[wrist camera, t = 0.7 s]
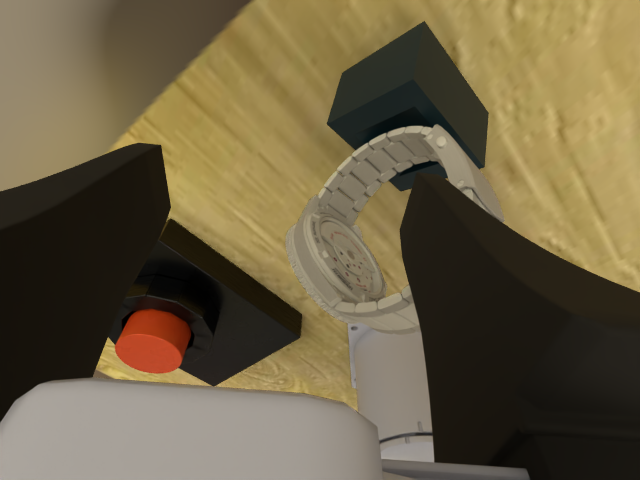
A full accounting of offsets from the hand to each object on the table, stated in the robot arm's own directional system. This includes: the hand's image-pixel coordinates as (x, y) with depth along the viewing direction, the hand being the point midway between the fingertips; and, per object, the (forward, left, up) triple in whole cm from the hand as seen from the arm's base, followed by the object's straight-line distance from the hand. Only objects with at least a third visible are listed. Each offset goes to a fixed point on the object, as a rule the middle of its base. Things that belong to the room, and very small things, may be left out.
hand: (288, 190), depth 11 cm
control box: (-15, +10, -10) cm, 21 cm away
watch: (0, -5, -9) cm, 10 cm away
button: (-14, +11, -6) cm, 19 cm away
